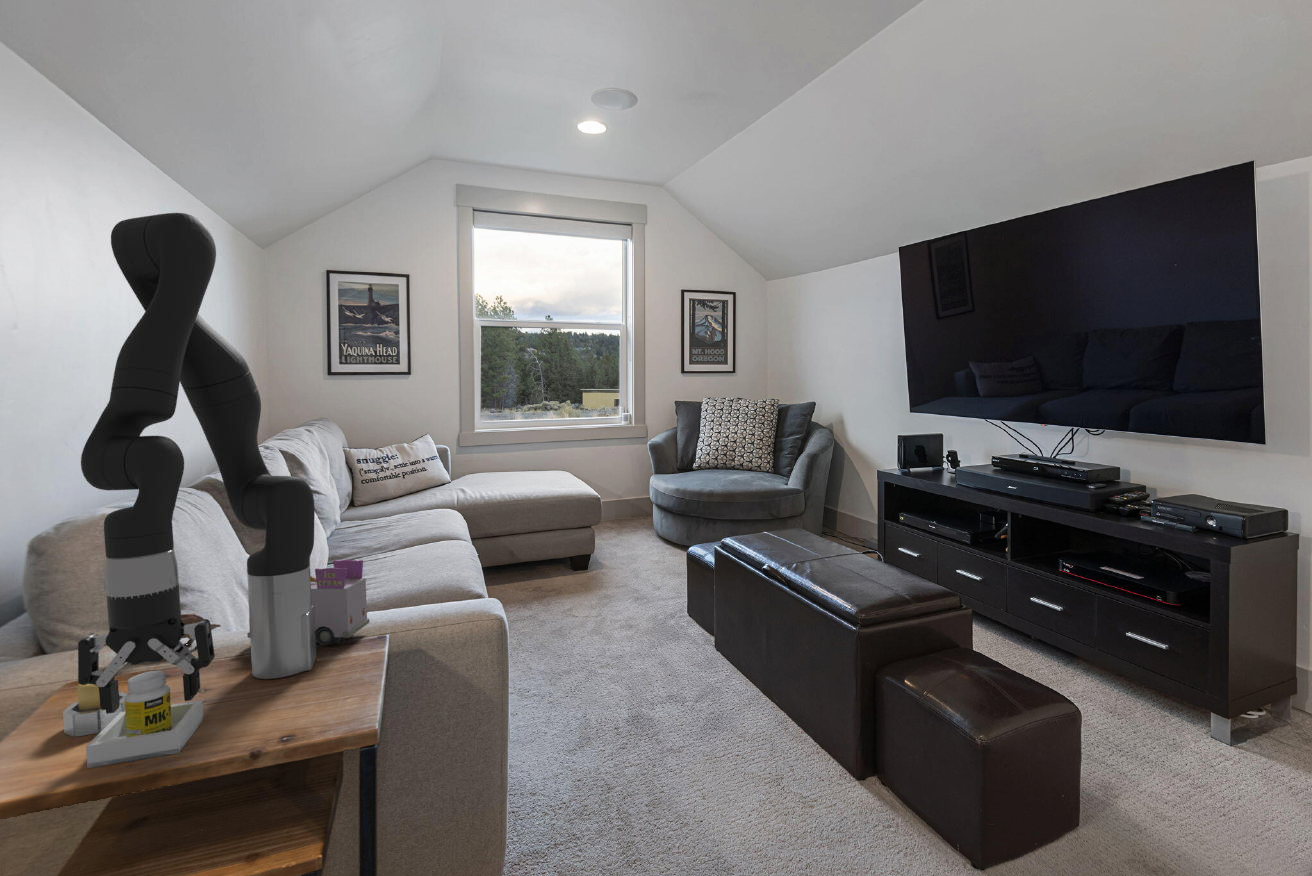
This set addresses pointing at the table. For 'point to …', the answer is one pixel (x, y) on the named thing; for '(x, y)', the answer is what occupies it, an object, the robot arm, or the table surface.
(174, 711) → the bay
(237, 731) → the table surface
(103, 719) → the socket
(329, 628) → the toy vehicle
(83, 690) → the yellow rounded lump
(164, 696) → the supplement bottle
